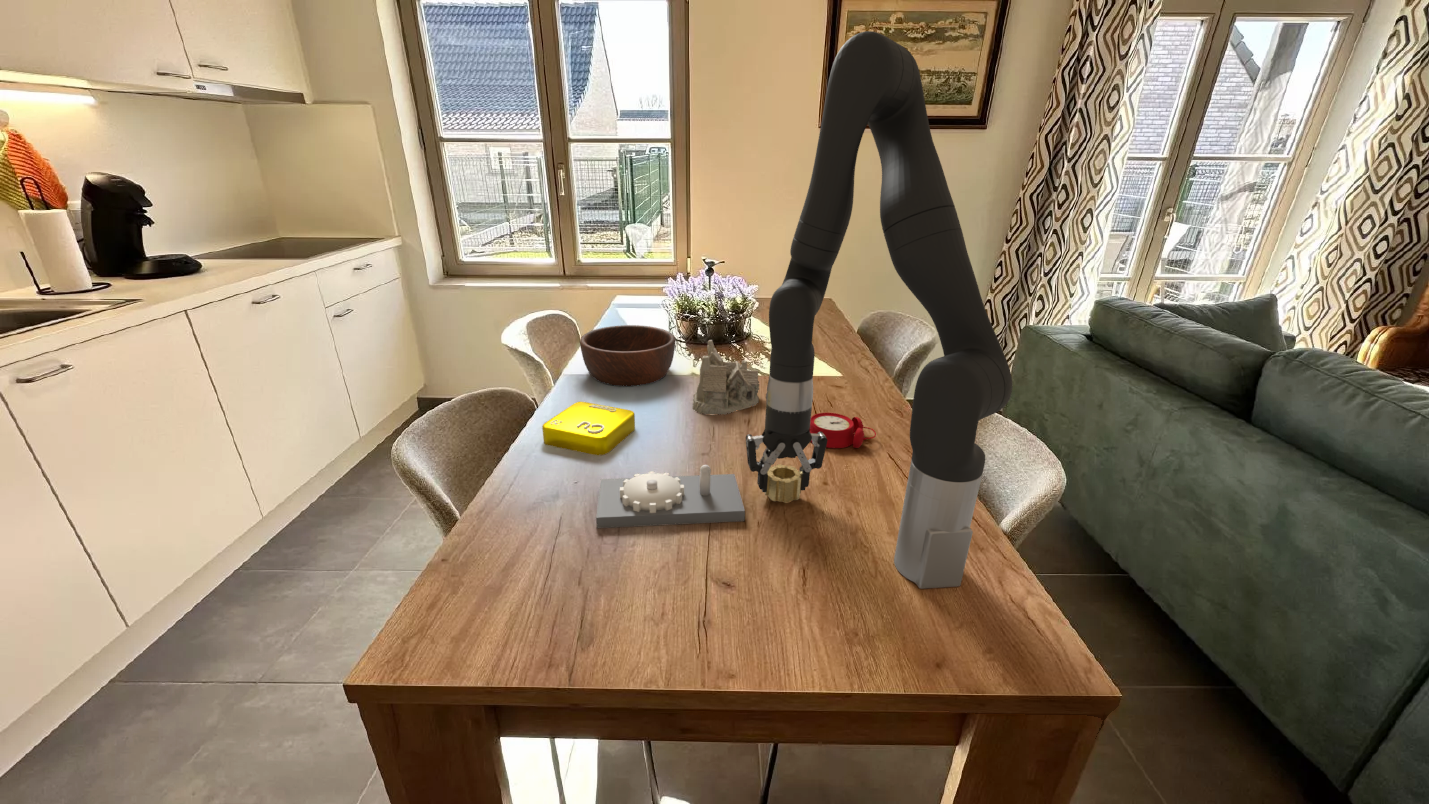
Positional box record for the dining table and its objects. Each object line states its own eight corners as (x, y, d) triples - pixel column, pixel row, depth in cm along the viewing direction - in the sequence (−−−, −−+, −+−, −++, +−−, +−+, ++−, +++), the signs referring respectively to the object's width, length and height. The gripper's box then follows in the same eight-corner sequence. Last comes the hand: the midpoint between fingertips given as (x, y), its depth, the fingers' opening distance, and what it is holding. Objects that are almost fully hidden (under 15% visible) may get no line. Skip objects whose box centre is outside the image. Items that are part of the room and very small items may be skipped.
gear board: (744, 521, 98) (746, 482, 95) (596, 528, 95) (594, 488, 92) (733, 483, 109) (735, 447, 106) (601, 488, 106) (599, 452, 103)
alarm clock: (802, 410, 132) (871, 402, 128) (806, 435, 134) (874, 428, 130) (800, 430, 122) (875, 422, 119) (805, 457, 124) (878, 450, 121)
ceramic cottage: (685, 411, 138) (690, 349, 132) (702, 389, 153) (707, 332, 147) (750, 423, 135) (758, 360, 130) (761, 399, 150) (769, 342, 144)
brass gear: (804, 501, 102) (806, 481, 100) (768, 503, 101) (769, 483, 100) (795, 483, 108) (796, 463, 106) (761, 484, 107) (762, 465, 105)
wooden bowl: (631, 353, 177) (630, 319, 173) (694, 373, 162) (694, 337, 158) (562, 374, 159) (559, 337, 155) (626, 399, 144) (625, 359, 140)
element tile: (638, 428, 130) (637, 408, 128) (603, 459, 117) (602, 437, 115) (579, 417, 135) (577, 397, 133) (539, 445, 122) (537, 424, 120)
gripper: (750, 411, 93) (746, 502, 100) (838, 408, 95) (828, 498, 102) (742, 394, 100) (738, 480, 107) (824, 391, 102) (816, 476, 108)
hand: (782, 488), depth 104 cm, fingers closed on brass gear, 6 cm apart
